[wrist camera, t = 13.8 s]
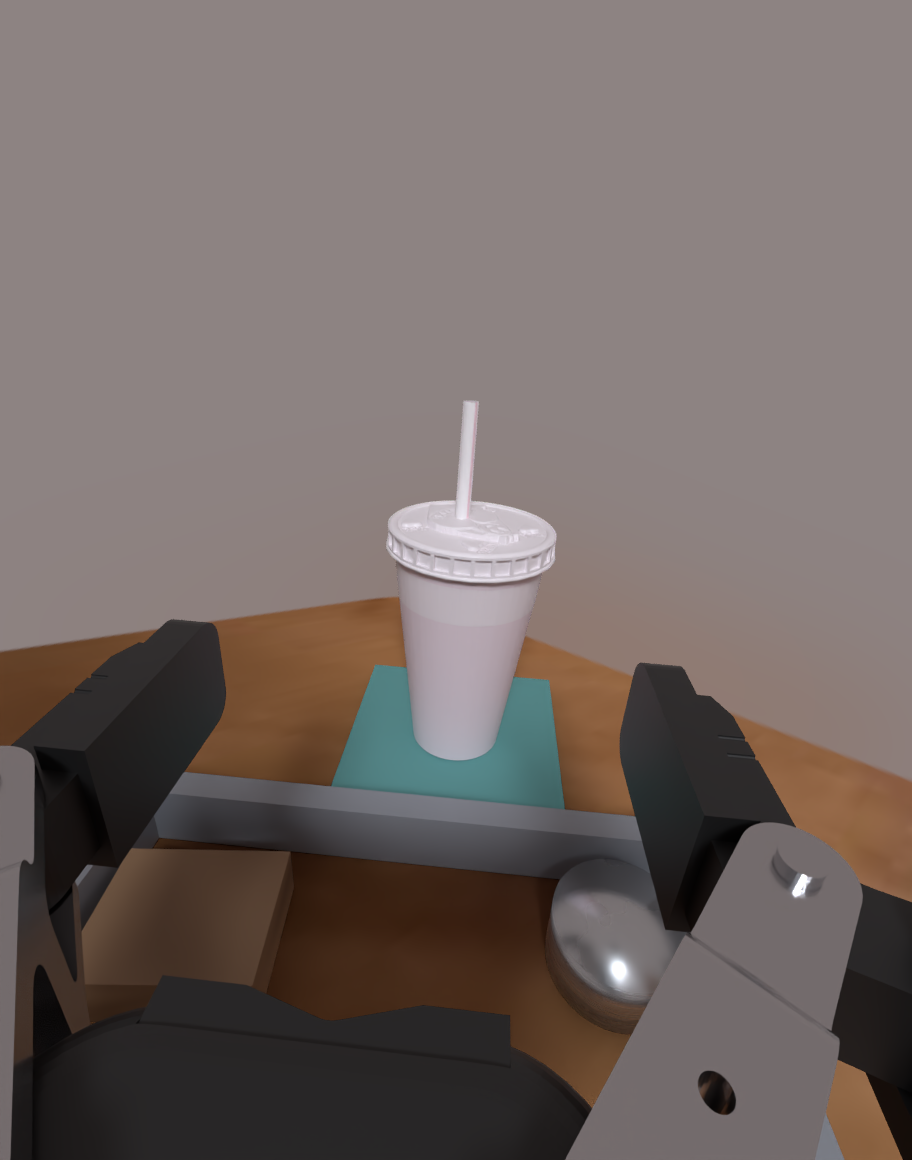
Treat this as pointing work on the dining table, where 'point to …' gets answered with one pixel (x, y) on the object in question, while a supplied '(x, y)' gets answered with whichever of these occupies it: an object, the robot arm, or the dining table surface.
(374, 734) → the teal mat
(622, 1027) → the silver round puck
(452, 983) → the dining table surface
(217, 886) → the walnut tile
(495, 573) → the smoothie
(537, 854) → the grey rectangular frame
